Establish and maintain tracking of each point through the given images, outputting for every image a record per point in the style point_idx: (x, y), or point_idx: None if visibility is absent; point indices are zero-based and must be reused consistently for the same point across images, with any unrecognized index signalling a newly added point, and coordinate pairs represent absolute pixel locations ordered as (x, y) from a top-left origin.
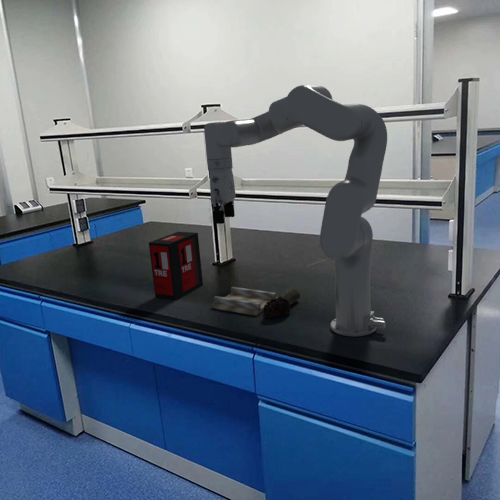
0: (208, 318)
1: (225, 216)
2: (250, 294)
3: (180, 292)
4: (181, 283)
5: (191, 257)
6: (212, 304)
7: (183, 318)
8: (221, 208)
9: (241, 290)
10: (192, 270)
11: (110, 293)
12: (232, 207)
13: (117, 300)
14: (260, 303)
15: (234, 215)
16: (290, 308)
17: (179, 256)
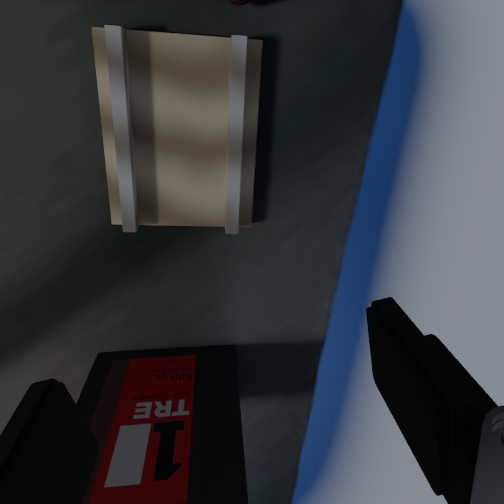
0: (323, 186)
1: (95, 445)
2: (132, 145)
3: (210, 356)
4: (201, 374)
5: (119, 436)
6: (249, 224)
7: (340, 251)
8: (495, 447)
9: (133, 186)
10: (131, 396)
11: (249, 490)
12: (9, 484)
13: (281, 452)
14: (182, 68)
15: (34, 386)
16: None
17: (191, 452)
